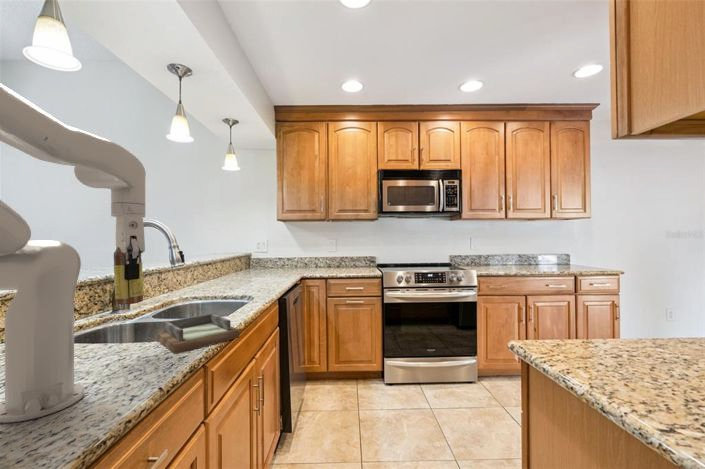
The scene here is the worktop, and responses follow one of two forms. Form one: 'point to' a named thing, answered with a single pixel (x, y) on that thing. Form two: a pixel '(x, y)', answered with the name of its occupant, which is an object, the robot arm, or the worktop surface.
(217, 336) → the dock
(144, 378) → the worktop surface
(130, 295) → the sauce bottle
